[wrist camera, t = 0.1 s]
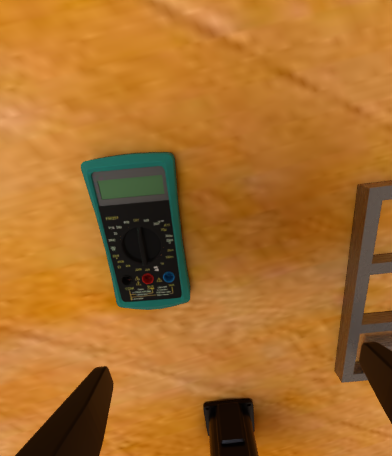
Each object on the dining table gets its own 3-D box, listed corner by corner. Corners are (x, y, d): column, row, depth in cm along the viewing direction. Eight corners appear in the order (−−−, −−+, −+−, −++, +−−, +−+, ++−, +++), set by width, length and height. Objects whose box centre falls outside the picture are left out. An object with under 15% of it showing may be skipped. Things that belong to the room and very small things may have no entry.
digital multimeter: (125, 297, 25) (116, 317, 23) (90, 157, 20) (73, 160, 17) (191, 292, 25) (191, 311, 23) (174, 149, 20) (171, 150, 17)
